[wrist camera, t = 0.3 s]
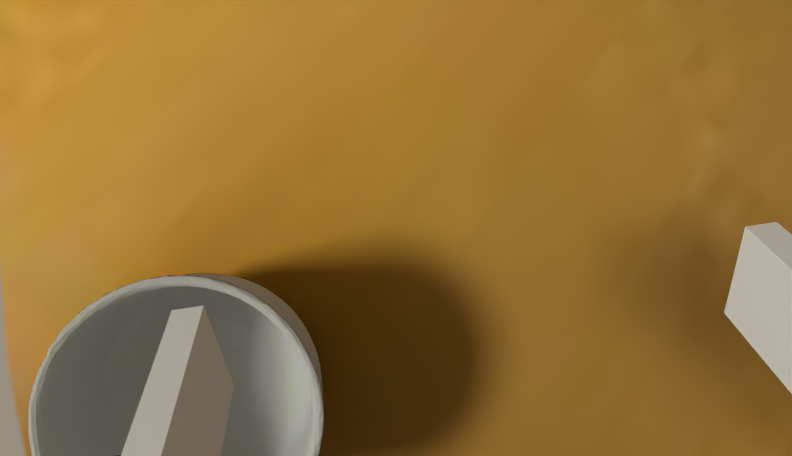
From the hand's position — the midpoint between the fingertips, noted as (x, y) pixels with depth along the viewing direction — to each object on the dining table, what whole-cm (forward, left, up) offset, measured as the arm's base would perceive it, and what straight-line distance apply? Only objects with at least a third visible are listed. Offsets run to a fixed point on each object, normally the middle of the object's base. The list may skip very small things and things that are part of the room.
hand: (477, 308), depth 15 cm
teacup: (-4, +12, -16) cm, 20 cm away
